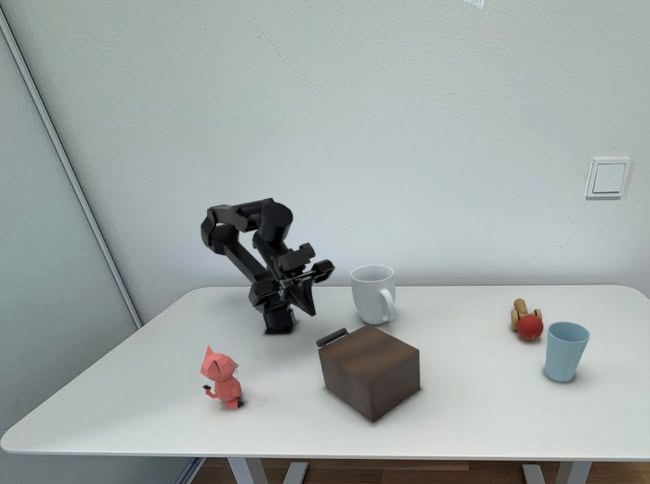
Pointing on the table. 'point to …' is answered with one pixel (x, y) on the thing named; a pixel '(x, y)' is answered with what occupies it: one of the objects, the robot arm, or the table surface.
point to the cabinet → (371, 370)
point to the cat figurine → (222, 378)
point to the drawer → (331, 338)
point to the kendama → (526, 321)
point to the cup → (564, 349)
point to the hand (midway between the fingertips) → (314, 315)
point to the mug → (374, 292)
